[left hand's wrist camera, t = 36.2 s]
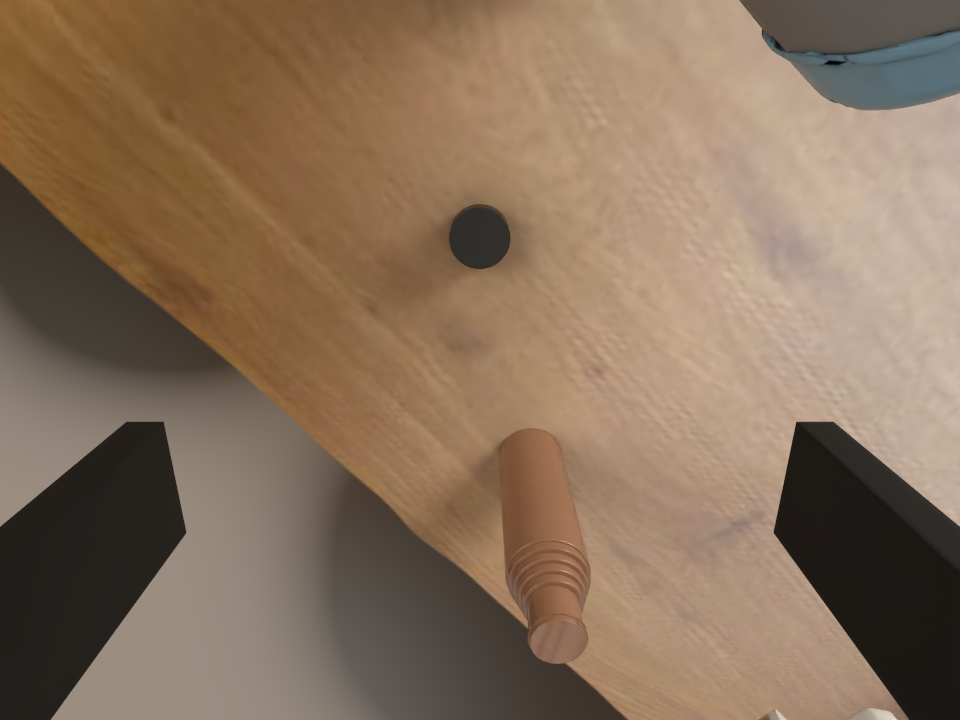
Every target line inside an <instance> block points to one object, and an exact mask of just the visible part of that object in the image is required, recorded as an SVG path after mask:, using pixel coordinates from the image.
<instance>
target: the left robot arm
mask: <svg viewBox="0 0 960 720" xmlns="http://www.w3.org/2000/svg"><path fill="white" fill-rule="evenodd" d="M740 2H741V3H742V4H743V5H744V7H745V8H746V9H747V10H748V12H749V13H750V14H751V15H752V17H753V18H754V19H755V20H756V21H757V23H758V24H759V25H760V26H761V28H762V37H763V39H764V40H765V42H766V43H767V45H768V46H769V47H770V48H771V50H772V51H773V52H775V53H776V54H778V55H780V56H782V57H783V58H785V59H787V60H789V61H790V62H791V63H792V64H793V66H794V67H795V68H796V69H797V70H798V71H799V72H800V73H801V74H802V76H803V77H804V78H805V79H806V80H807V81H808V82H809V83H810V84H811V85H812V87H813V88H814V89H815V90H816V91H817V92H818V93H819V94H820V95H822V96H823V97H824V98H826V99H828V100H829V101H832V102H834V103H840V104H842V105H844V106H846V107H852V108H855V109H859V110H889V109H898V108H905V107H910V106H915V105H920V104H924V103H929V102H932V101H936V100H939V99H943V98H946V97H949V96H952V95H955V94H958V93H960V0H740ZM185 534H186V529H185V524H184V519H183V514H182V509H181V504H180V499H179V495H178V490H177V485H176V480H175V475H174V470H173V465H172V461H171V456H170V451H169V446H168V441H167V436H166V432H165V427H164V422H126V423H125V424H124V425H122V426H121V427H120V428H119V429H117V430H116V431H115V432H114V433H113V434H111V435H110V436H109V437H108V438H107V439H105V440H104V441H103V442H102V443H101V444H99V445H98V446H97V447H96V448H95V449H93V450H92V451H91V452H90V453H89V454H87V455H86V456H85V457H84V458H83V459H81V460H80V461H79V462H78V463H77V464H75V465H74V466H73V467H72V468H70V469H69V470H68V471H67V472H66V473H65V474H63V475H62V476H61V477H60V478H58V479H57V480H56V481H55V482H54V483H52V484H51V485H50V486H49V487H48V488H46V489H45V490H44V491H43V492H42V493H40V494H39V495H38V496H37V497H36V498H34V499H33V500H32V501H31V502H30V503H28V504H27V505H26V506H25V507H24V508H22V509H21V510H20V511H19V512H18V513H16V514H15V515H14V516H13V517H11V518H10V519H9V520H8V521H7V522H6V523H4V524H3V525H2V526H1V527H0V720H51V718H52V717H53V716H54V714H55V713H56V712H57V710H58V709H59V707H60V706H61V705H62V703H63V702H64V700H65V699H66V698H67V696H68V695H69V694H70V692H71V691H72V689H73V688H74V687H75V685H76V684H77V683H78V681H79V680H80V678H81V677H82V676H83V674H84V673H85V672H86V670H87V669H88V667H89V666H90V665H91V663H92V662H93V661H94V659H95V658H96V656H97V655H98V654H99V652H100V651H101V650H102V648H103V647H104V645H105V644H106V643H107V641H108V640H109V639H110V637H111V636H112V634H113V633H114V632H115V630H116V629H117V628H118V626H119V625H120V623H121V622H122V621H123V619H124V618H125V616H126V615H127V614H128V612H129V611H130V610H131V608H132V607H133V606H134V604H135V603H136V601H137V600H138V599H139V597H140V596H141V594H142V593H143V592H144V590H145V589H146V588H147V586H148V585H149V583H150V582H151V581H152V579H153V578H154V577H155V575H156V574H157V572H158V571H159V570H160V568H161V567H162V566H163V564H164V563H165V561H166V560H167V559H168V557H169V556H170V555H171V553H172V552H173V550H174V549H175V548H176V546H177V545H178V544H179V542H180V541H181V539H182V538H183V537H184V535H185ZM774 534H775V535H776V537H777V538H778V539H779V541H780V542H781V544H782V545H783V546H784V548H785V549H786V550H787V552H788V553H789V555H790V556H791V557H792V559H793V560H794V561H795V563H796V564H797V566H798V567H799V568H800V570H801V571H802V572H803V574H804V575H805V577H806V578H807V579H808V581H809V582H810V583H811V585H812V586H813V588H814V589H815V590H816V592H817V593H818V594H819V596H820V597H821V599H822V600H823V601H824V603H825V604H826V606H827V607H828V608H829V610H830V611H831V612H832V614H833V615H834V617H835V618H836V619H837V621H838V622H839V623H840V625H841V626H842V628H843V629H844V630H845V632H846V633H847V634H848V636H849V637H850V639H851V640H852V641H853V643H854V644H855V645H856V647H857V648H858V650H859V651H860V652H861V654H862V655H863V656H864V658H865V659H866V661H867V662H868V663H869V665H870V666H871V667H872V669H873V670H874V672H875V673H876V674H877V676H878V677H879V678H880V680H881V681H882V683H883V684H884V685H885V687H886V688H887V689H888V691H889V692H890V694H891V695H892V696H893V698H894V699H895V701H896V702H897V703H898V705H899V706H900V707H901V709H902V710H903V712H904V713H905V714H906V716H907V717H908V718H909V720H960V527H959V526H958V525H957V524H956V523H955V522H953V521H952V520H951V519H950V518H949V517H947V516H946V515H945V514H944V513H942V512H941V511H940V510H939V509H938V508H936V507H935V506H934V505H933V504H932V503H930V502H929V501H928V500H927V499H926V498H924V497H923V496H922V495H921V494H920V493H918V492H917V491H916V490H915V489H914V488H912V487H911V486H910V485H909V484H908V483H906V482H905V481H904V480H903V479H902V478H900V477H899V476H898V475H897V474H896V473H894V472H893V471H892V470H891V469H890V468H888V467H887V466H886V465H885V464H883V463H882V462H881V461H880V460H879V459H877V458H876V457H875V456H874V455H873V454H871V453H870V452H869V451H868V450H867V449H865V448H864V447H863V446H862V445H861V444H859V443H858V442H857V441H856V440H855V439H853V438H852V437H851V436H850V435H849V434H847V433H846V432H845V431H844V430H843V429H841V428H840V427H839V426H838V425H837V424H835V423H834V422H796V427H795V431H794V436H793V441H792V446H791V451H790V456H789V461H788V465H787V470H786V475H785V480H784V485H783V490H782V495H781V499H780V504H779V509H778V514H777V519H776V524H775V529H774Z"/></svg>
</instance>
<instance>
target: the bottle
mask: <svg viewBox="0 0 960 720" xmlns="http://www.w3.org/2000/svg"><path fill="white" fill-rule="evenodd" d="M499 471H500V489H501V506H502V524H503V541H504V559H505V576H506V583H507V585H508V588H509V592H510V594H511V596H512V598H513V599H514V600H515V602H516V604H517V605H518V606H519V608H520V610H521V611H522V613H523V615H524V616H525V618H526V619H527V620H528V629H529V632H528V643H529V646H530V648H531V650H532V651H533V653H534V654H535V655H536V656H537V657H538V658H539V659H541V660H543V661H545V662H548V663H553V664H561V663H566V662H570V661H572V660H574V659H576V658H577V657H578V656H580V655H581V654H582V652H583V651H584V649H585V648H586V646H587V644H588V634H587V630H586V626H585V624H584V623H583V618H582V612H583V608H584V604H585V601H586V597H587V594H588V590H589V587H590V582H591V578H590V575H591V569H590V564H589V560H588V556H587V552H586V548H585V544H584V540H583V536H582V532H581V528H580V524H579V520H578V516H577V512H576V508H575V504H574V500H573V496H572V492H571V488H570V484H569V480H568V476H567V472H566V468H565V464H564V460H563V457H562V453H561V449H560V446H559V444H558V442H557V441H556V440H555V439H554V438H553V437H552V436H551V435H550V434H548V433H546V432H544V431H541V430H537V429H525V430H521V431H518V432H515V433H514V434H512V435H511V436H509V437H508V438H507V439H506V440H505V441H504V443H503V444H502V446H501V448H500V451H499Z"/></svg>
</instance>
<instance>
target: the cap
mask: <svg viewBox="0 0 960 720" xmlns="http://www.w3.org/2000/svg"><path fill="white" fill-rule="evenodd" d="M449 242H450V247H451V250H452V252H453V254H454V255H455V257H456V258H457V259H458V260H459V261H460V262H461V263H462V264H464V265H466V266H468V267H471V268H476V269H484V268H489V267H491V266H493V265H495V264H497V263H498V262H499V261H500V260H502V258H503V257H504V256H505V254H506V253H507V251H508V248H509V244H510V232H509V228H508V225H507V222H506V220H505V218H504V217H503V215H502V214H501V213H500V212H499V211H498V210H496V209H495V208H493V207H491V206H488V205H483V204H477V205H472V206H469V207H467V208H465V209H463V210H462V211H461V212H460V213H459V214H458V215H457V216H456V217H455V219H454V221H453V223H452V226H451V230H450V234H449Z"/></svg>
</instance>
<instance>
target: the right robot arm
mask: <svg viewBox="0 0 960 720" xmlns="http://www.w3.org/2000/svg"><path fill="white" fill-rule="evenodd" d="M758 720H786V719H785V718H784V717H783V716H782V715H781V714H780V713H779V712H778V711H777V710H773V711H771V712H770V713H768V714H766V715H765V716H763V717H761V718H760V719H758ZM845 720H897V719H896V717H895V716H894V715H893V714H892V713H891V712H889V711H886V710H881V709H874V708H867V709H864V710H862V711H860V712H858V713H856V714H854V715H853V716H851V717H849V718H847V719H845Z"/></svg>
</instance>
